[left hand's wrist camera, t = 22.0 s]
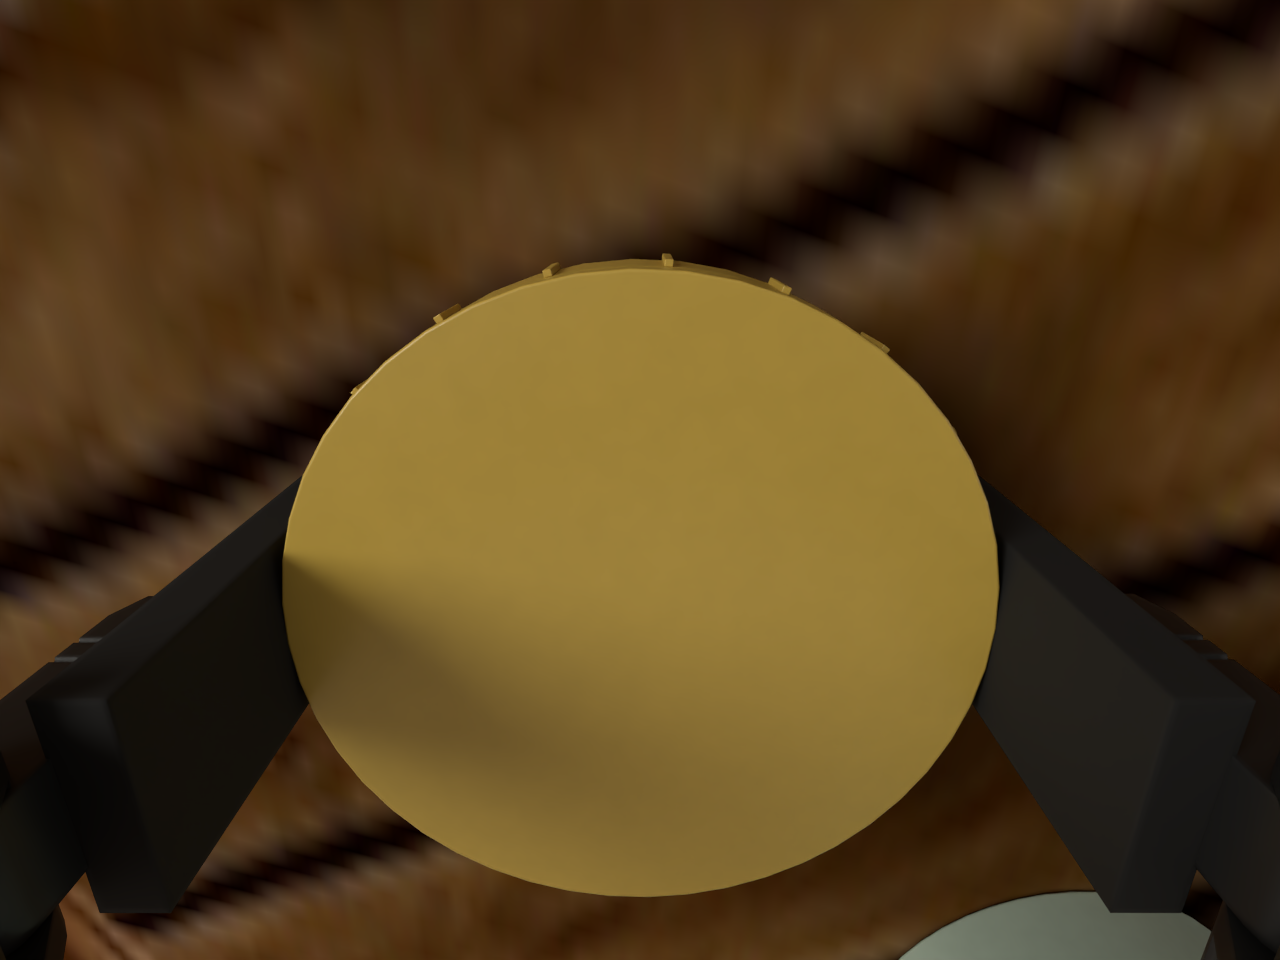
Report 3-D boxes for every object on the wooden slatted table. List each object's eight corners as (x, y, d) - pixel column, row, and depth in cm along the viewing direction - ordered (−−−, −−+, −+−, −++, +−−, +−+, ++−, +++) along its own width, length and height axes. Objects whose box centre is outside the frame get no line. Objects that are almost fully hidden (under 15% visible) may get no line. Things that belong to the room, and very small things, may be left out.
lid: (415, 856, 14) (389, 932, 12) (227, 316, 10) (159, 335, 9) (958, 790, 13) (998, 863, 12) (954, 196, 10) (1009, 196, 8)
